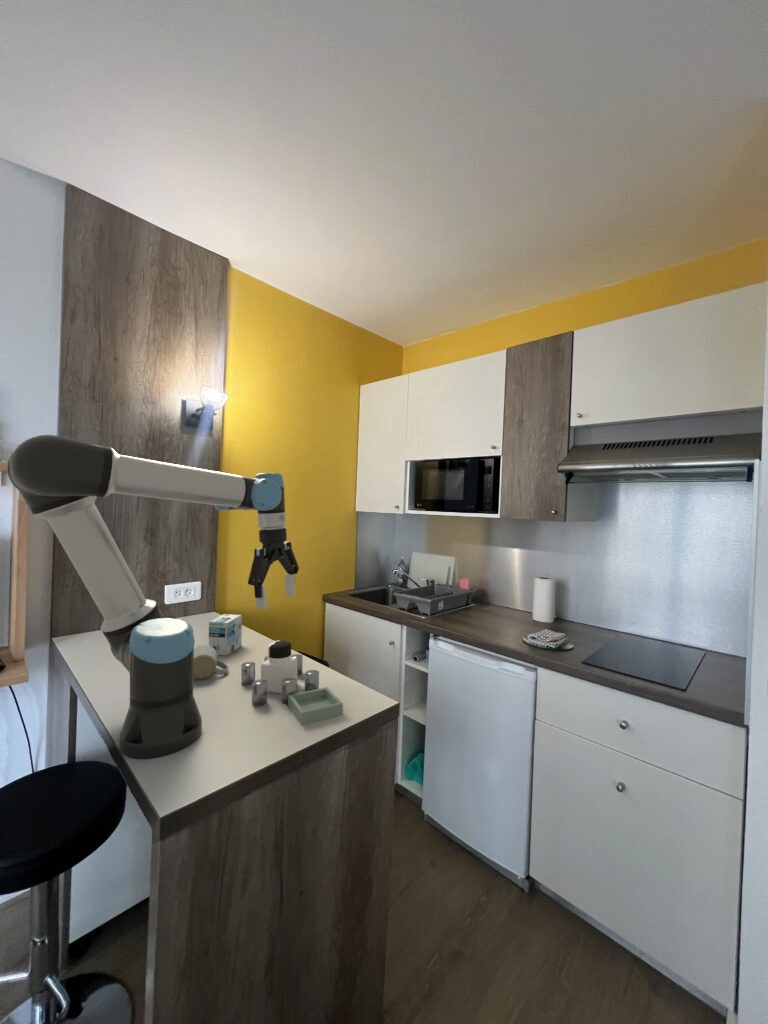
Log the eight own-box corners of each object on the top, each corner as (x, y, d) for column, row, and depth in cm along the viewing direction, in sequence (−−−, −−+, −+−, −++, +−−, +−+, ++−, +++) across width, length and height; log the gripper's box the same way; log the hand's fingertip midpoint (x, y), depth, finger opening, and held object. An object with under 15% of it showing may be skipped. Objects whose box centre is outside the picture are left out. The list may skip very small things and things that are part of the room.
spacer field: (255, 711, 99) (255, 690, 99) (238, 678, 117) (238, 660, 117) (323, 696, 107) (324, 677, 107) (297, 667, 126) (297, 651, 126)
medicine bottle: (297, 683, 115) (298, 639, 115) (284, 694, 108) (285, 648, 108) (274, 680, 117) (274, 637, 116) (260, 691, 110) (260, 645, 110)
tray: (301, 724, 93) (301, 713, 93) (288, 705, 102) (288, 695, 102) (342, 714, 98) (342, 703, 98) (326, 697, 107) (326, 687, 107)
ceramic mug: (187, 682, 114) (188, 654, 114) (188, 671, 122) (189, 645, 122) (228, 677, 118) (229, 650, 118) (227, 667, 126) (228, 641, 126)
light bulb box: (227, 656, 135) (227, 622, 135) (207, 655, 136) (207, 621, 136) (242, 645, 146) (242, 614, 145) (223, 644, 146) (224, 613, 146)
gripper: (253, 533, 106) (259, 616, 107) (308, 523, 129) (311, 591, 130) (230, 533, 108) (235, 614, 110) (287, 523, 131) (291, 590, 133)
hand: (276, 602), depth 120 cm, fingers open, 13 cm apart
